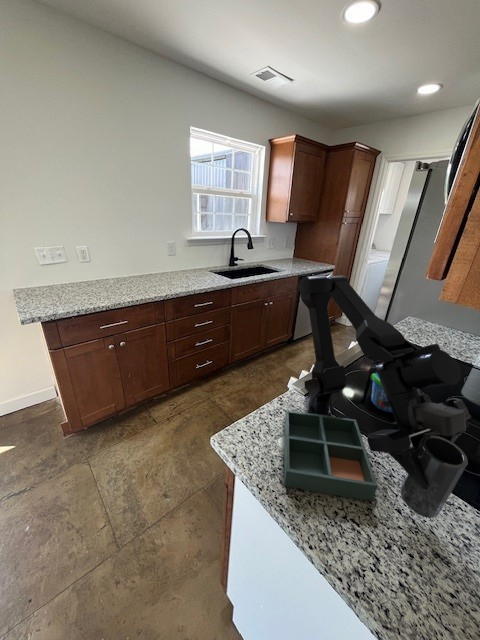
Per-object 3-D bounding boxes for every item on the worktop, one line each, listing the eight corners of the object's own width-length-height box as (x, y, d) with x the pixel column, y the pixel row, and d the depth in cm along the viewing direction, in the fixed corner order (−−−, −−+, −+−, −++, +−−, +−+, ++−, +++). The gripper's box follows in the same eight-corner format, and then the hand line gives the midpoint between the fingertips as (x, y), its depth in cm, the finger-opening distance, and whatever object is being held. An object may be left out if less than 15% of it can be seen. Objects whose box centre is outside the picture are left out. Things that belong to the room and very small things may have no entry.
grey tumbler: (395, 480, 53) (414, 432, 48) (429, 485, 52) (453, 438, 47) (408, 514, 47) (432, 464, 42) (447, 521, 46) (477, 471, 41)
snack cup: (357, 387, 87) (363, 361, 83) (389, 388, 87) (397, 362, 83) (378, 423, 73) (387, 394, 69) (417, 425, 73) (428, 395, 68)
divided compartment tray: (284, 423, 72) (286, 410, 70) (352, 432, 69) (356, 419, 68) (284, 486, 56) (286, 471, 54) (372, 501, 53) (377, 486, 52)
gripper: (399, 398, 40) (446, 516, 36) (478, 376, 47) (527, 474, 42) (352, 404, 50) (384, 496, 46) (422, 385, 56) (457, 465, 52)
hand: (438, 483), depth 46 cm, fingers closed on grey tumbler, 6 cm apart
